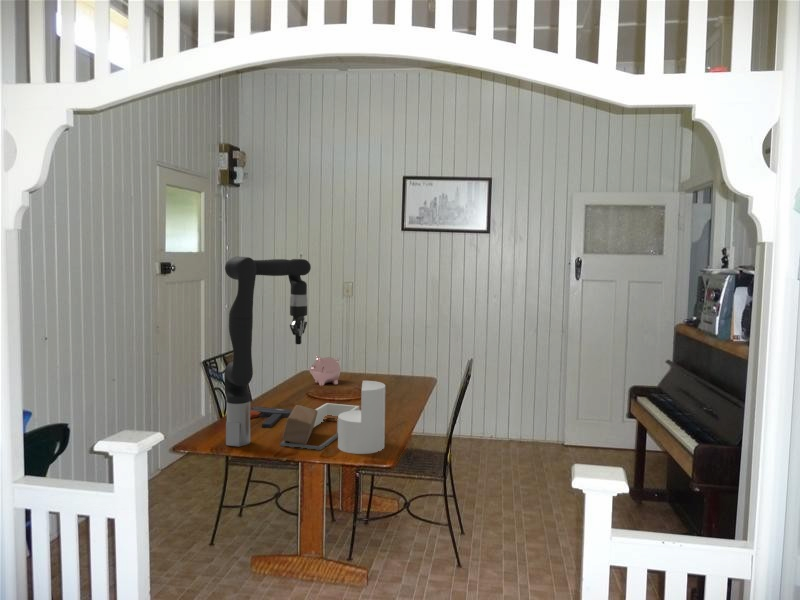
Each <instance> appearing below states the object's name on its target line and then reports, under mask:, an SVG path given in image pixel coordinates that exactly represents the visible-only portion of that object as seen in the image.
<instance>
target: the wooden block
mask: <svg viewBox="0 0 800 600" xmlns="http://www.w3.org/2000/svg"><path fill="white" fill-rule="evenodd" d="M291 410H292V412H291V414H290V415H289V417H287V418H286V419H287V420H286V423H285V426H284V430H283V434H282V441H288V442H289V443H294V444H302V445H308V444H307V443H308V441H309V439H310V437H311V435H312V433H313V430H314V428H315V427H314V423H315V420H316V416H317V410H315V409H313V408H311V407H307V406H304V405H299V404H296V405H295V406H294V407H293V409H291ZM313 427H314V428H313Z"/></svg>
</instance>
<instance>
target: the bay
mask: <svg viewBox="0 0 800 600" xmlns="http://www.w3.org/2000/svg"><path fill="white" fill-rule="evenodd" d="M336 439H337V440H338V433H337V432H336V433H335V434H334V435H332V436H331V437H330V438H328V439H327V440H325V441H324V442H322V443H321V444H320V445H312V444H311V445H310V444H306V445H302V444H295V443H291V442H289V443H288V441H284V440H282V441H281V442H280V443H279V446H280V447H285V446H289V448H294V447H301V448H300V449H303V448H307V449H306V450H311V449H316V450H315V451H322V450H323V449H324V448H326V447H327V446H328V445H330V444H331V443H332V442H334V441H335V440H336ZM325 446H326V447H325Z"/></svg>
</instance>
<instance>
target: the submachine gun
mask: <svg viewBox="0 0 800 600" xmlns="http://www.w3.org/2000/svg"><path fill="white" fill-rule="evenodd" d="M292 410H293V409H287V408H276V407H267V406H266V407H265V406H253V407H250V420H251V419H253V418H254V419H255V418H264V419H265V418H267V419H266V420H264V421H263V422H262V423H261V428H269V429H270V428H271V429H272V427H273V426H274V425H275V424H276V423H277V422H279V421H280V420H281V418H286V419H288V417H289V415H290V414H291V412H292Z"/></svg>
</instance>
